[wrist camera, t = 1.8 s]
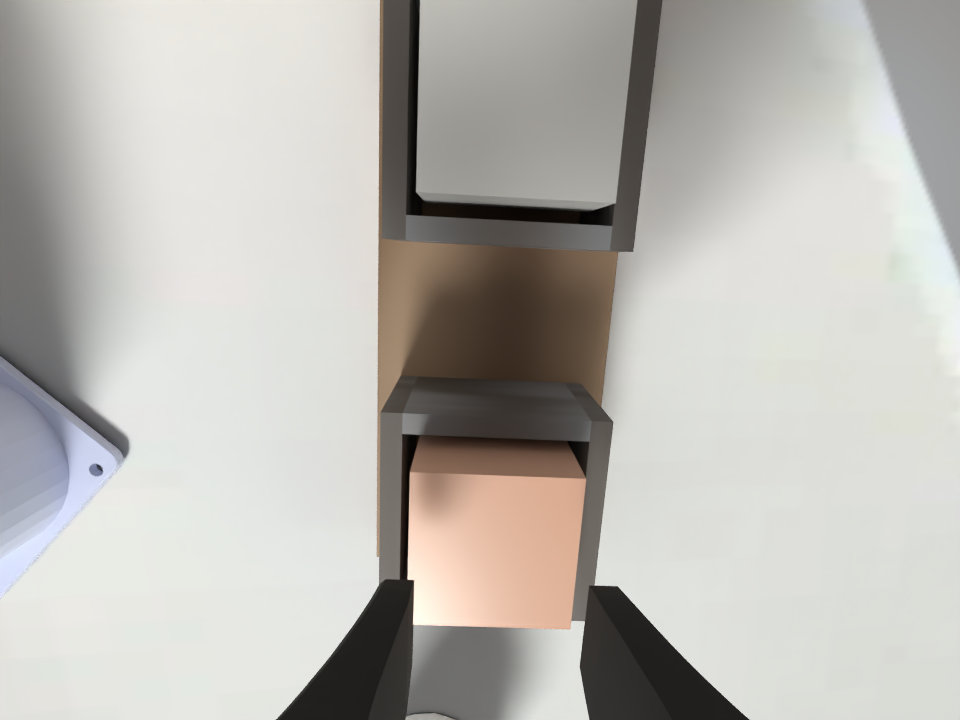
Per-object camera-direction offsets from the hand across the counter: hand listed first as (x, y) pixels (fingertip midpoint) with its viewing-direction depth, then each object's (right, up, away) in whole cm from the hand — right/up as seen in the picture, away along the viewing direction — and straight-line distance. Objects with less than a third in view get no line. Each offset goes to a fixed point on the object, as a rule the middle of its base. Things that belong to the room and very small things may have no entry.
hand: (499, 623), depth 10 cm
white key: (0, +12, +2) cm, 12 cm away
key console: (0, +7, +8) cm, 11 cm away
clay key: (0, +1, +5) cm, 5 cm away
